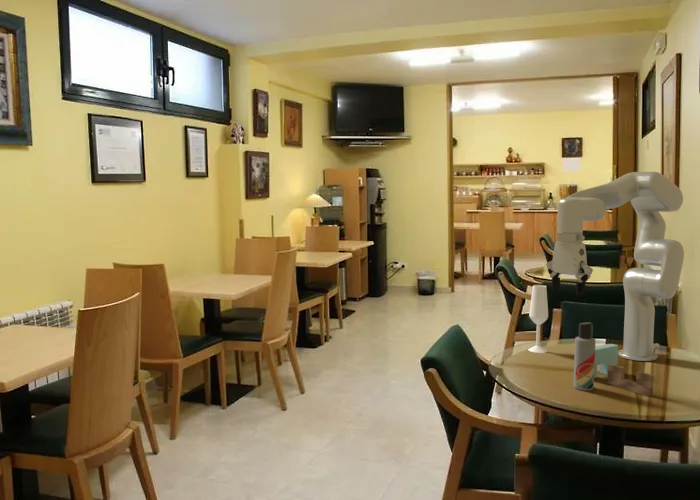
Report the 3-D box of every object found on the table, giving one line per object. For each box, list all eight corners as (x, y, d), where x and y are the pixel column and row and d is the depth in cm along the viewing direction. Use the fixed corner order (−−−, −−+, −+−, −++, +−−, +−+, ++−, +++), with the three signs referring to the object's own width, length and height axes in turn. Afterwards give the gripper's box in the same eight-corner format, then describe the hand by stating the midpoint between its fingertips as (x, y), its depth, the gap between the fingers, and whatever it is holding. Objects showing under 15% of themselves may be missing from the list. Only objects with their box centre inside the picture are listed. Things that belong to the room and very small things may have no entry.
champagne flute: (531, 347, 233) (533, 284, 230) (549, 349, 229) (551, 285, 226) (525, 351, 227) (527, 286, 225) (543, 353, 223) (545, 288, 221)
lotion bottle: (591, 392, 182) (594, 325, 180) (571, 388, 185) (573, 323, 183) (595, 386, 187) (597, 321, 185) (575, 383, 190) (578, 319, 188)
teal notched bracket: (605, 369, 205) (606, 342, 204) (621, 373, 199) (622, 346, 199) (574, 376, 197) (575, 348, 196) (590, 381, 192) (591, 353, 191)
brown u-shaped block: (607, 383, 190) (608, 364, 189) (610, 382, 191) (611, 363, 190) (649, 396, 178) (650, 376, 177) (652, 395, 179) (653, 375, 178)
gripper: (601, 239, 187) (598, 295, 189) (556, 235, 202) (554, 287, 204) (584, 240, 184) (582, 297, 185) (539, 236, 199) (538, 289, 200)
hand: (567, 292), depth 195 cm, fingers open, 9 cm apart
